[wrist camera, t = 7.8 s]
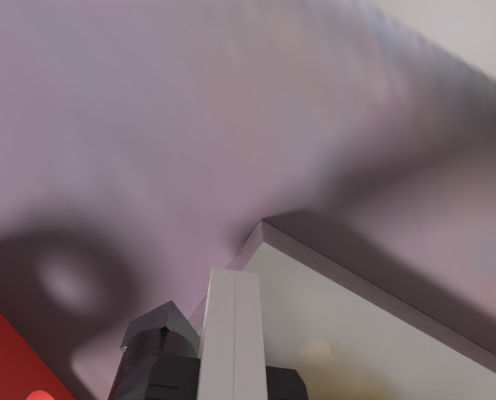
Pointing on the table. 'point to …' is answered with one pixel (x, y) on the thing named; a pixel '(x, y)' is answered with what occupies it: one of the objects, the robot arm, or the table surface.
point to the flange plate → (353, 330)
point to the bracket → (25, 370)
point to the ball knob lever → (151, 348)
